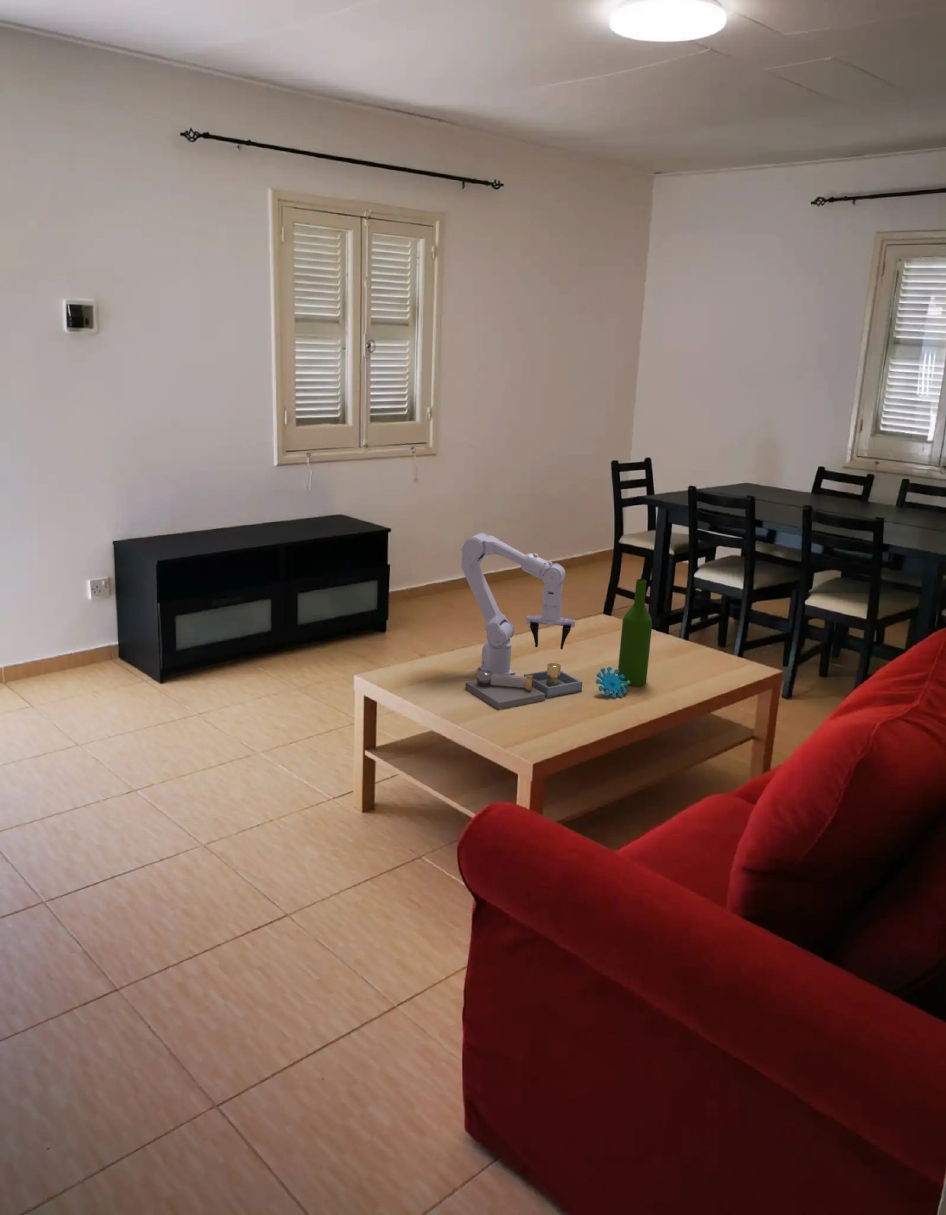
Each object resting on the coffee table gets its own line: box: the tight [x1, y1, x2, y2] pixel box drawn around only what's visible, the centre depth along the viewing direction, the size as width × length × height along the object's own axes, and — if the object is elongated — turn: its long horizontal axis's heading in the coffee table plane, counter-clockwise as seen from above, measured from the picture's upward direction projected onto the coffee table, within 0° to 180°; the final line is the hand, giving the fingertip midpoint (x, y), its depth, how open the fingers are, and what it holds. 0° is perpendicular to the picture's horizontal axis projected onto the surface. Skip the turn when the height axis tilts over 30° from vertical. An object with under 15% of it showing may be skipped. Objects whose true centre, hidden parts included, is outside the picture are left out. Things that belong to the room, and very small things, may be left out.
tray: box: [523, 670, 583, 699], centre depth 284 cm, size 13×13×3 cm
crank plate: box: [465, 674, 546, 710], centre depth 277 cm, size 18×16×2 cm
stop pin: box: [546, 662, 562, 687], centre depth 283 cm, size 4×4×6 cm
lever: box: [476, 669, 533, 690], centre depth 277 cm, size 16×5×4 cm, turn 83°
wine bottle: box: [617, 578, 653, 688], centre depth 288 cm, size 9×9×32 cm
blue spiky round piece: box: [595, 666, 630, 699], centre depth 282 cm, size 11×6×10 cm
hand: (549, 647), depth 288 cm, fingers open, 7 cm apart
